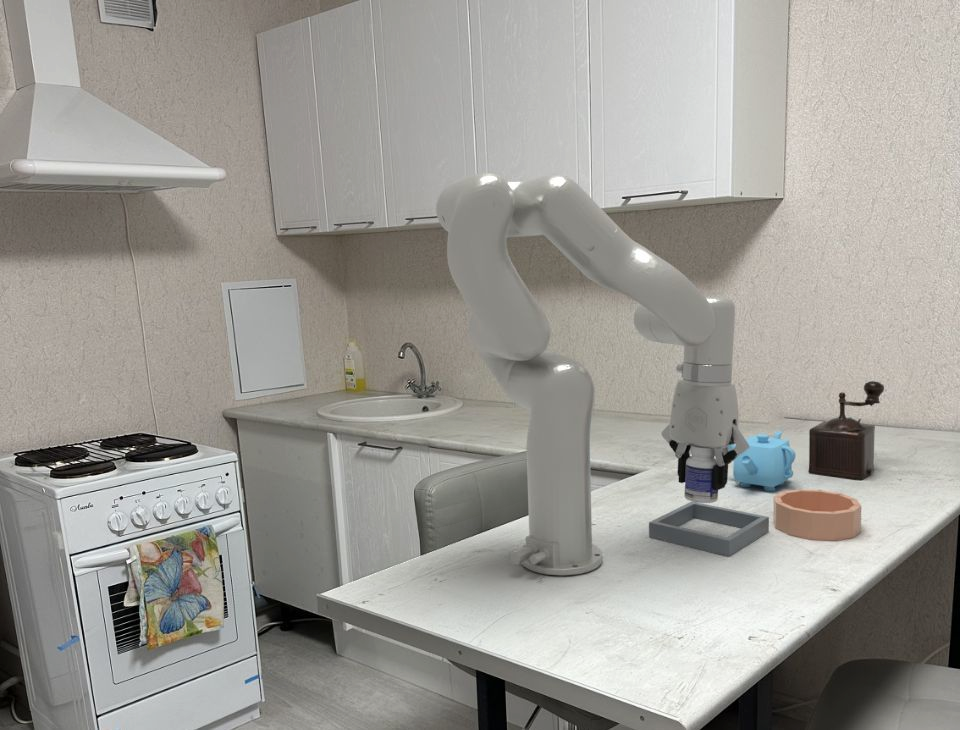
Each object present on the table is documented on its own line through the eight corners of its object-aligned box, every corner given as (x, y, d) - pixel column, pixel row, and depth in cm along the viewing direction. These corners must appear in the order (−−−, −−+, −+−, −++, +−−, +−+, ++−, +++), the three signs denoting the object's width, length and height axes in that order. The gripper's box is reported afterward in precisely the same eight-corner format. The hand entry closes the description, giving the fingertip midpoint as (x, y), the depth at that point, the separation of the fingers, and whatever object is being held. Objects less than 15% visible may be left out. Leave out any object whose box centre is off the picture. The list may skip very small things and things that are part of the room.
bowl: (842, 546, 123) (842, 518, 122) (761, 528, 131) (761, 503, 131) (870, 524, 132) (871, 498, 131) (793, 509, 141) (793, 485, 140)
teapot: (777, 501, 146) (777, 448, 144) (705, 489, 155) (705, 438, 154) (811, 479, 159) (811, 429, 158) (743, 468, 168) (743, 422, 167)
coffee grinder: (865, 481, 156) (867, 391, 153) (807, 473, 163) (808, 387, 160) (884, 464, 168) (887, 380, 165) (829, 457, 175) (831, 377, 172)
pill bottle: (719, 504, 125) (722, 450, 125) (685, 502, 127) (687, 448, 126) (716, 496, 131) (718, 443, 130) (683, 493, 132) (685, 441, 131)
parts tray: (729, 556, 120) (729, 540, 120) (649, 536, 130) (648, 522, 129) (768, 531, 130) (768, 517, 130) (691, 515, 140) (691, 501, 139)
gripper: (648, 370, 129) (643, 479, 131) (747, 381, 118) (741, 500, 120) (671, 367, 135) (667, 471, 137) (769, 377, 123) (762, 491, 125)
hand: (701, 483), depth 128 cm, fingers closed on pill bottle, 5 cm apart
